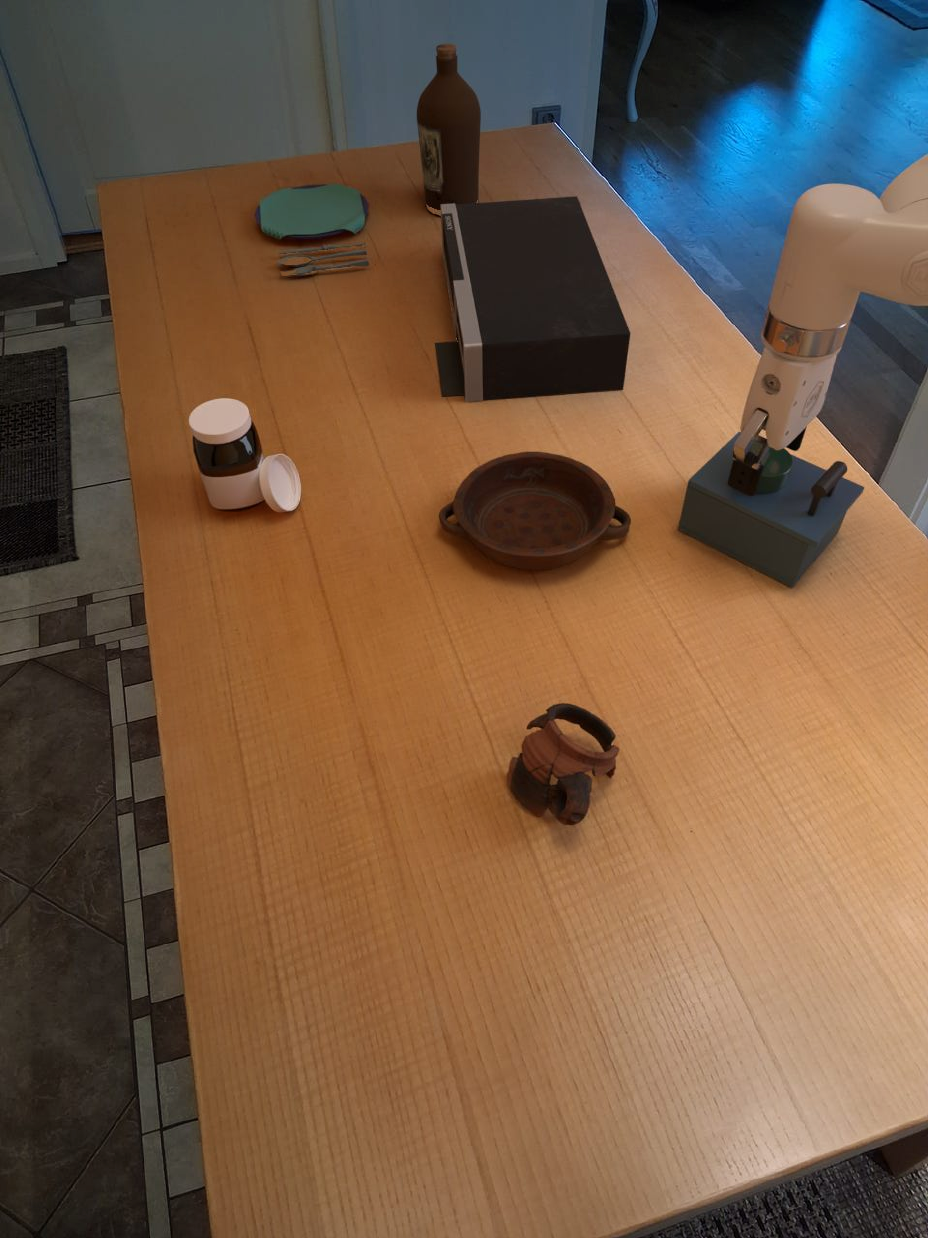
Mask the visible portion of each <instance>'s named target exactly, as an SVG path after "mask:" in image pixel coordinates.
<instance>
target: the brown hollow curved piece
mask: <svg viewBox="0 0 928 1238" xmlns="http://www.w3.org/2000/svg"><path fill="white" fill-rule="evenodd" d="M545 711H546V713H543V714H540V715H538V716H536V717H535V718H534V719H532V720H530V721H529V722H528V724H527V726H526V730H528V731H530V730H532V729H534V728H538V730H536V731H534V732H531V733H529V734H527V735H526V736H524V739H523V741H522V743H521V752H520V753H519V755H518V756H512V757H511V758H510V761H509V766H508V770H507V774H506V781H507V785H508V788H509V790H510V792H511V793H512V796H513V797H514V799H515V800H516V801H517V802H518V804H520V805H521V806H522V807H523V808H524V809H525V810H527V811H528V812H530V813H531V814H534V815H536V816H537V817H540V818H542V817H543V815H544V814H545V812H546V811H547V809H548V811H549V813H551V814H552V815H553V816H554V817H555V819H556V820H557V822H559V823H560V824H561V825H562V826H570V827H571V826H576V825H577V824H580V823H581V822H582V821H583V820H584V818H585V817H586V816H587V813H588V811H589V809H590V803H591V802H590V799H591V795H590V794H591V793H592V791H593V786H592V785H593V779H592V777H591V776H590V775H589V774H587V772H590V771H591V774H592V776H593V777H595V778H597V777H599V776H602V775H606V776H607V778H608V779H612V778H613V777H614V775H615V771H616V769H617V760H616V757H618V756H619V752H620V747H619V746H617V745H616V744H613V742H614V741H615V739H616V737H617V736H616V734H615V732H614V730H613V729H612V728H611V727H610V726H609V725H608V724H607V722H605V721H604V720H603V719H602V718H601V717H600V716H599V717H598V716H597V714H594V713H592V712H591V711H589V710H587V709H585V708H583V707H581V706H578V705H576V704H572V703H567V702H566V703H565V702H559V703H555V704H553V705H551V706H550V707H548V708H546V709H545ZM556 720H563V721H566V722H568V723H571V724H573V725H577V726H579V728H580V729H581V730H583V731H584V732H586V733H587V734H589V735H590V736H592V737H593V738H594V739H595V740H596V741H597V742H598V744H599V745H600V747H601V749H602V751H592V750H590V749H588V748H586V747H583V746H582V745H579V744H578V743H576V742H575V741H573V740H572V739H570V738H569V737H568V736H567V735H566V734H564V733H563V731H562V730H561V729H560V727H559V726H558V723H557V721H556ZM552 776H553V777H554V778H555V779H557V780H556V784H551V777H552Z"/></svg>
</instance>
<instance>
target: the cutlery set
mask: <svg viewBox="0 0 928 1238" xmlns="http://www.w3.org/2000/svg"><path fill="white" fill-rule="evenodd" d="M369 207H370V204H369V202H368V200H367V199H366V197H365V196H364V195H363V194H361V193H360V190H357V189H356V188H353V187H351V186H350V187H349V186H347V185H343V184H339V183H330V184H326V183H325V184H306V185H300V186H294V187H290V188H288V187H287V188H285V187H284V188H279V189H278V190H275V191H274V192H271V193H269V194H268V195H266V196H264V197H263V198H261V199H260V200H259V205H258V206H257V207H256V209H255V213H254V219H255V221H256V223H257V226H259V227H260V228H261V231H262V232H263V234H264V235H266V236H267V237H271V238H274V239H276V238H278V239H277V240H279V241H281V240H282V238H286V239H293V240H318V239H322V238H327V237H332V236H333V237H334V236H336V235H339V234H341V233H345V232H347V231H350V232H352V233H353V234H354V233H356V232H357V231H358V230H360V229H361V230H363V228H364V226H365V223H366V217H367V216H368V215H369ZM361 230H360V231H361ZM358 234H359V233H357V234H356V235H355V236H357V235H358ZM362 245H365V246H366V242H365V241H364V242H362V243H353V244H339V245H337V244H332V243H330V244H328V245H325V244H324V243H323V244H322V246H320V247H319V246H317V247H304V248H294V249H286V250H282V251H279V252H278V255H279V254H287V253H296V252H307V253H312V252H311V251H316V252H319V251H318V250H324V251H325V250H327V251H330V249H335V248H337V249H340V248H339V247H345V248H351V247H350V246H356V247H363V246H362ZM328 249H329V250H328ZM335 250H336V249H335ZM367 255H368V252H367V248H362V249H356V250H349V251H343V252H337V253H333V254H327V255H322V256H319V257H314V256H312V255H308V254H292V255H289V256H288V255H287V256H285V257H282V258H280V259H278V264H279V265H282V266H285V264H282V261H283V260H286V259H288V258H293V257H307V258H309V259H311V261H309V262H307V263H303V264H298V265H286V266H285V267H289V266H301V267H295V268H294V269H295V270H296V272H295V273H292V274H305V273H311V272H312V271H317V272H318V271H327V270H326V269H331V268H342V267H351V266H361V267H369V266H370V260H369V259H368V258H367V259H362V260H353V261H349V262H344V263H339V264H332V265H329V264H328V265H316V263H314V264H312V265H311V263H313V262H317V261H316V260H318V261H323V260H331V259H336V258H344V257H356V256H357V257H358V256H367ZM330 258H331V259H330ZM312 261H313V262H312ZM308 263H309V264H308ZM306 264H307V265H306ZM302 265H305V266H302ZM292 274H291V275H292Z"/></svg>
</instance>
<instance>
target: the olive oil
mask: <svg viewBox="0 0 928 1238" xmlns="http://www.w3.org/2000/svg"><path fill="white" fill-rule="evenodd" d="M435 48H436V49H435V51H436V55H435V63H436V65H435V66H436V73H435V75H434V77H433V78H432V79H431V80H430V82H428V84H427V86H426V87H425V88H424V89H423V91H422V93H420V96H419V99H418V102H417V106H416V124H417V125H416V126H417V134H418V142H419V151H420V153H419V154H420V160H421V161H420V162H421V171H422V183H423V192H424V203H425V202H426V204H427V205H428V206H429V207H432V208H434V209H437V210H441V204H455V205H457V204H471V203H476V202H477V200H478V201H479V187H480V186H479V182H480V181H479V179H480V178H479V177H480V149H481V148H480V146H481V145H480V144H481V125H482V124H481V123H482V122H481V121H482V110H481V106H480V101H479V99H478V96H477V94H476V91H475V90H474V89H473V88H472V87H471V86H470V85H469V84H468V82H467V81H466V80H465V79H464V78H463V77H462V76H461V74H459V71H458V54H457V46H456V44H454V43H449V42H448V43H446V42H445V43H440V44H438V45H437V46H436V47H435ZM426 204H425V205H426Z"/></svg>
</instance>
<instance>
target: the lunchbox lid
mask: <svg viewBox="0 0 928 1238" xmlns="http://www.w3.org/2000/svg"><path fill="white" fill-rule="evenodd" d="M740 434H741V431H738V432H737V433H736V434H735V435H734V436H733V437H731V439H729V440H728V441H727V442H726V443H725V444H724V446H722V447H721V448H720V449H719V450H718V451H717V452H716V453H715V454H714V455H713V456H711V458H709V460H708V461H707V462H706V463H704V464H703V465H702V466H701V467H700V469H698V470H697V471H696V472H695V473H694V474H693V475H692V476H691V477H689V479H688V480H687V486H690V487H692V488H694V489H696V490H698V491H700V492H702V493H704V494H707V495H709V496H711V497H713V498H715V499H717V500H719V501H721V502H723V503H725V504H727V505H729V506H731V507H733V508H735V509H737V510H739V511H741V512H743V513H745V514H748V515H750V516H752V517H754V518H756V519H758V520H760V521H762V522H764V523H766V524H768V525H770V526H772V527H774V528H776V529H778V530H780V531H782V532H784V533H786V534H788V535H791V536H793V537H795V538H797V539H799V540H801V541H803V542H805V543H807V544H809V545H811V546H813V547H815V548H816V547H817V546H818V545H819V543H820V542H821V541H822V540H823V539H824V537H825V536H826V535H827V534H828V533H829V532H830V530H831V529H832V528H833V527H834V526H835V524H836V523H837V522H838V521H839V520H840V519H841V517H842V516H843V515H844V514H845V513H846V514H847V512H848V510H849V509H850V508H851V507H853V505H854V503H855V502H856V501H857V500H858V499H859V498H860V496H861V495H863V493H864V490H865V486H863V485H861V484H858V483H857V482H855V481H852V480H851V479H847V478H845V477H844V476H845V475H846V473H847V472H848V465H847V464H846V463H845V462H844V461H841V460H836V461H835V462H833V463H832V464H831V465H830V467H829V468H828V469H825V468H823V467H820V466H818V465H816V464H814V463H811V462H810V461H807V460H805V459H803V458H800V457H798V456H796V455H794V454H791V456H792V458H793V467H792V470H791V473H790V476H789V479H788V482H787V484H786V486H785V487H784V488H783V489H781V490H780V491H778V492H775V493H770V494H760V493H756V494H755V495H754V496H753V497H751V496H749V495H747V494H745V493H742V492H740V491H738V490H736V489H734V488H732V487H730V486H729V485H728V479H729V475H730V471H731V467H732V463H733V451H734V448H733V447H734V444H735V442H736V440H737V439H738V437H739V436H740Z"/></svg>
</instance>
